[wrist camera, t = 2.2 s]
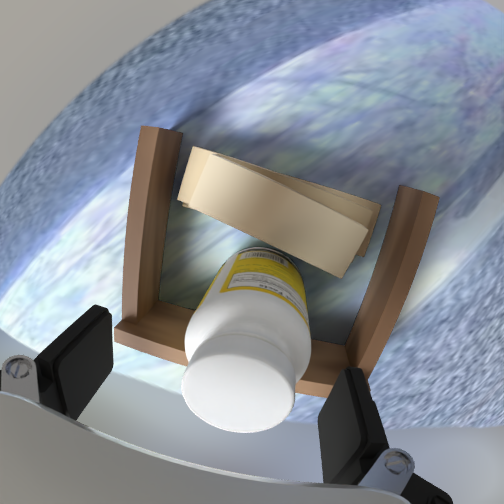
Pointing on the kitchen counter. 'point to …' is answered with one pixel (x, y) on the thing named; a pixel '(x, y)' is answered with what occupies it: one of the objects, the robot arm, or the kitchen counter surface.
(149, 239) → the walnut rack
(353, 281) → the kitchen counter surface
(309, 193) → the middle offcut
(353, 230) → the top offcut
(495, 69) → the kitchen counter surface
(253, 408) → the supplement bottle
